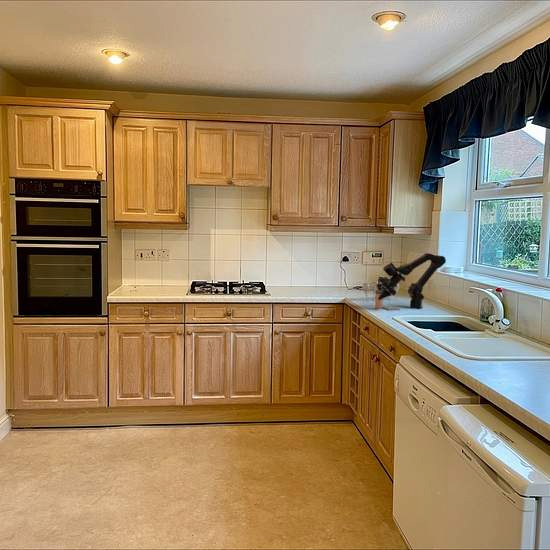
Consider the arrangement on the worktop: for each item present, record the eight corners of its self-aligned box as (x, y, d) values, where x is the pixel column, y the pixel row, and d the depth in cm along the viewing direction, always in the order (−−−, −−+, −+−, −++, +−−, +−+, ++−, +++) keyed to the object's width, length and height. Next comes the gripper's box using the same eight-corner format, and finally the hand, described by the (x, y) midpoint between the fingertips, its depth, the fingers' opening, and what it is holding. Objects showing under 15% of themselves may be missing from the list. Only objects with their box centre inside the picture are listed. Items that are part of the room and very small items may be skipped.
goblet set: (396, 299, 372) (397, 281, 371) (400, 300, 367) (401, 282, 365) (360, 300, 365) (361, 281, 363) (364, 302, 359) (364, 282, 358)
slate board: (391, 306, 340) (392, 305, 340) (400, 310, 329) (400, 308, 329) (380, 307, 339) (380, 306, 338) (388, 310, 327) (388, 309, 327)
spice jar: (383, 308, 332) (384, 290, 331) (380, 309, 329) (381, 291, 327) (376, 308, 335) (377, 289, 334) (373, 309, 331) (374, 290, 330)
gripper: (379, 270, 339) (363, 287, 338) (392, 273, 321) (374, 292, 320) (390, 282, 342) (374, 299, 341) (403, 286, 324) (386, 304, 322)
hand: (376, 298), depth 331 cm, fingers closed on spice jar, 5 cm apart
